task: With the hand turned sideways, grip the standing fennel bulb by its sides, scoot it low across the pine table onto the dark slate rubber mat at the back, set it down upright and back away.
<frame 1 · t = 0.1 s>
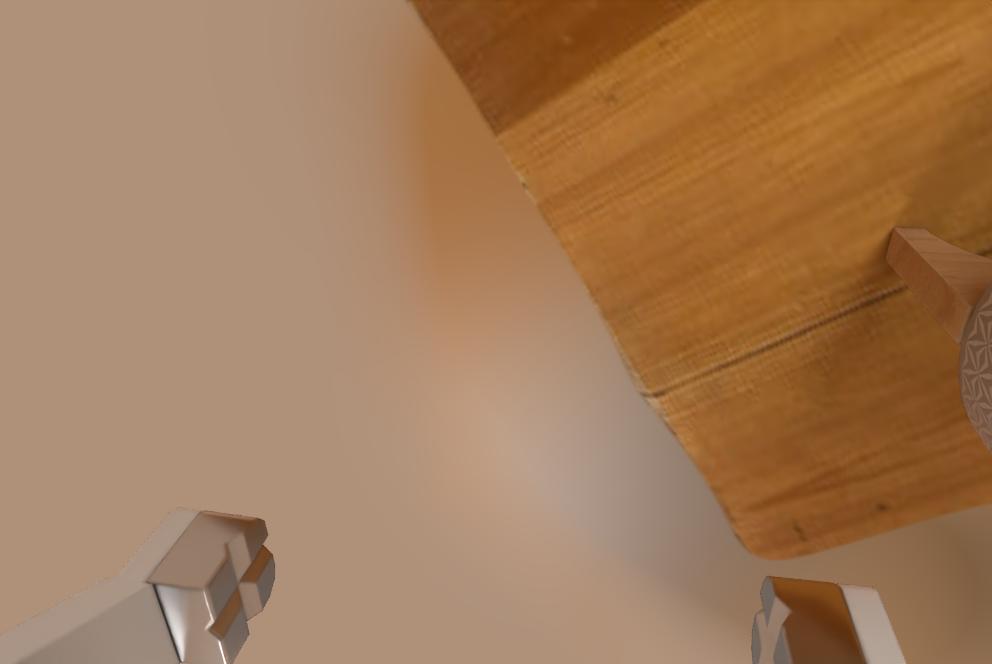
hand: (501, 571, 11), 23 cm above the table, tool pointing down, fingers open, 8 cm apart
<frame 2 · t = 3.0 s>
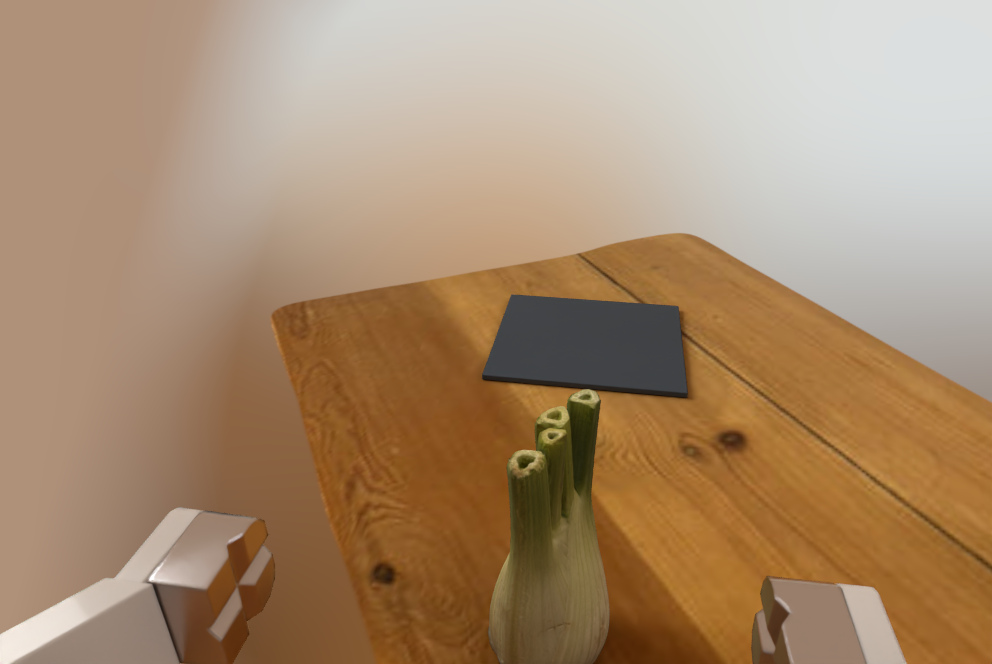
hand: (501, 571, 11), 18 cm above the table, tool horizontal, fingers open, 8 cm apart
mat: (588, 342, 54), on the table
fennel bulb: (549, 650, 30), on the table
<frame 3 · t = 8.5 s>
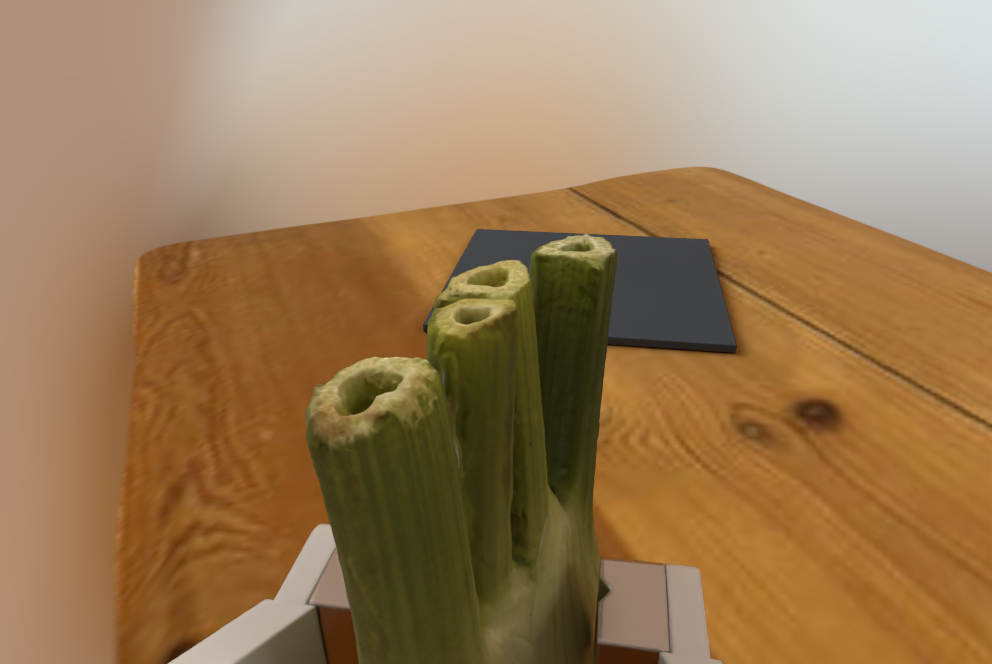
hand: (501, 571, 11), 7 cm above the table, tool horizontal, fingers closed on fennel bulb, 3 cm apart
mat: (582, 283, 37), on the table
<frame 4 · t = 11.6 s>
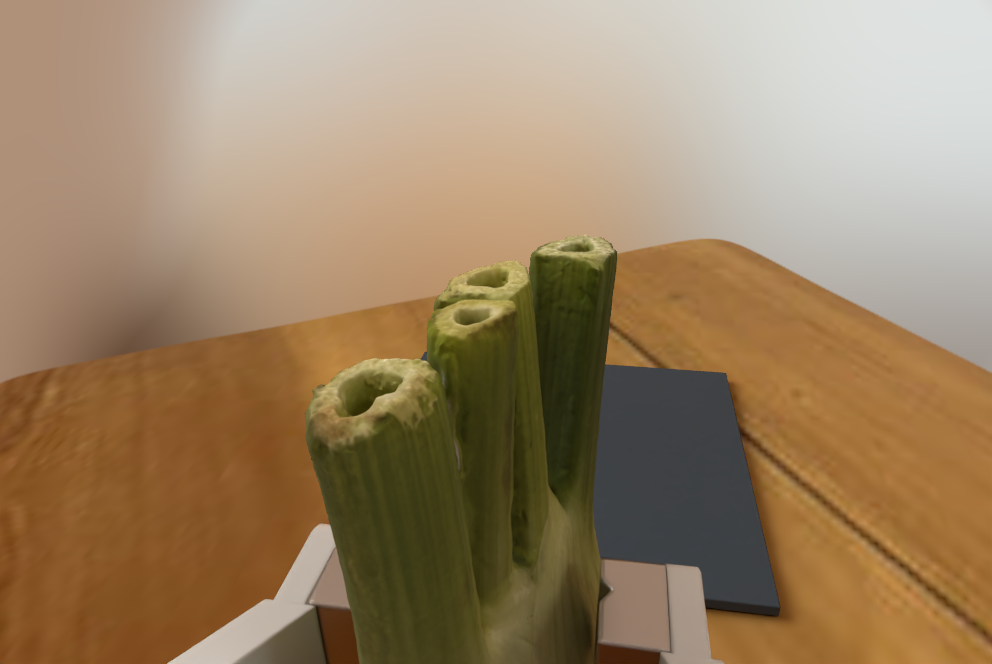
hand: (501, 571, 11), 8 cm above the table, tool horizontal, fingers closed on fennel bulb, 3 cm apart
mat: (558, 455, 27), on the table
when the fingers open (7 cm above the table, at t = 14.9 s): fennel bulb stays where it is, resting on mat.
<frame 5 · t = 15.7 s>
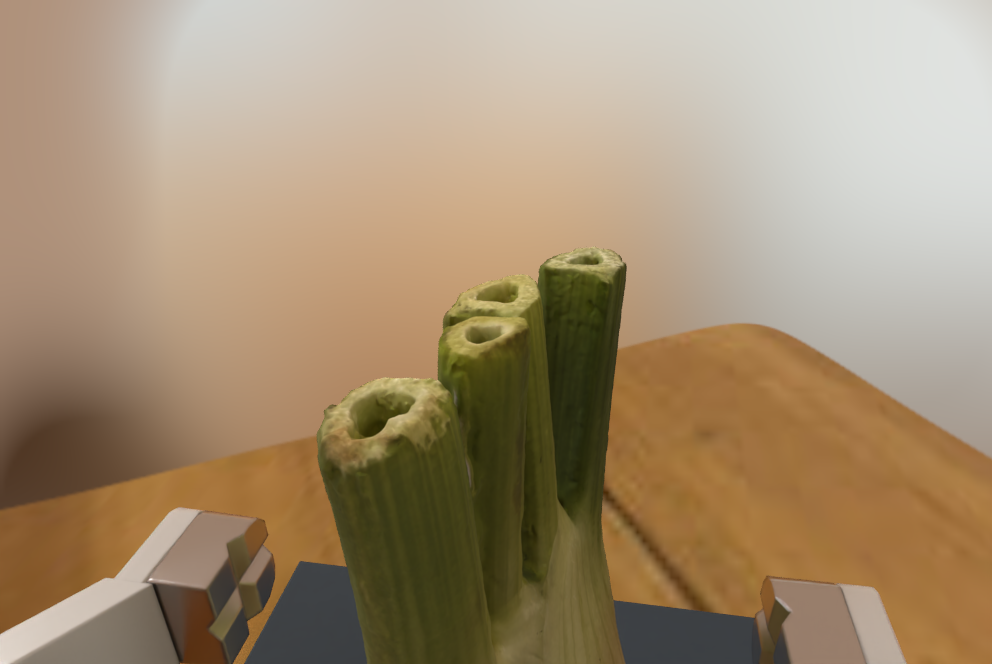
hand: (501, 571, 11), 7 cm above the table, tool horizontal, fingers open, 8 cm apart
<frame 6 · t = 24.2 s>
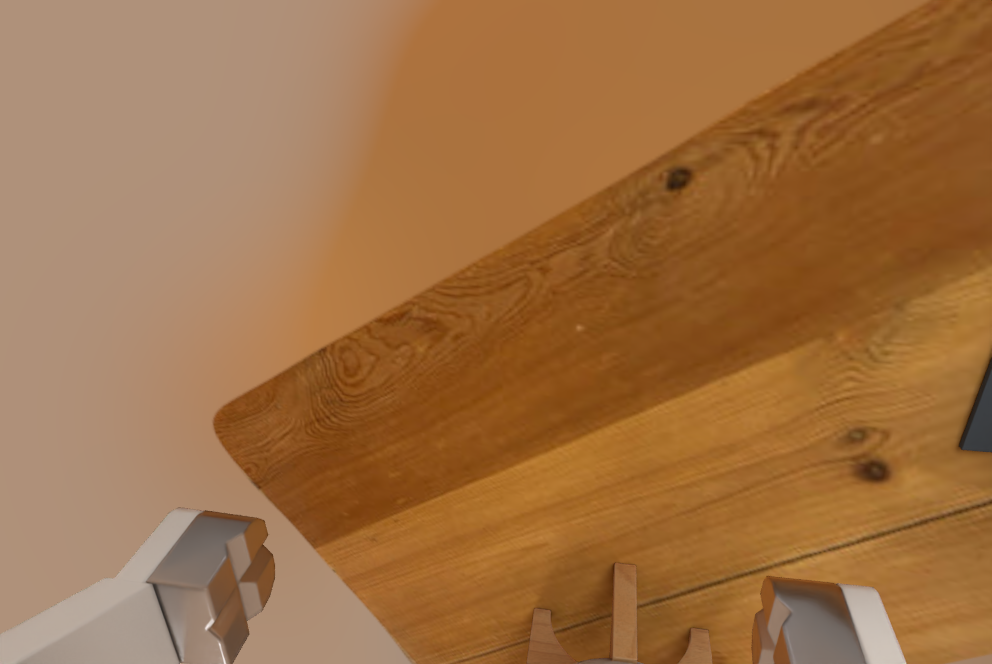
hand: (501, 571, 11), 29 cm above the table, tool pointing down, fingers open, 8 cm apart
planter: (619, 623, 53), on the table
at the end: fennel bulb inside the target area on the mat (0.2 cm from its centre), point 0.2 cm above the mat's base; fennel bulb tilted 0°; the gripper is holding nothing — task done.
